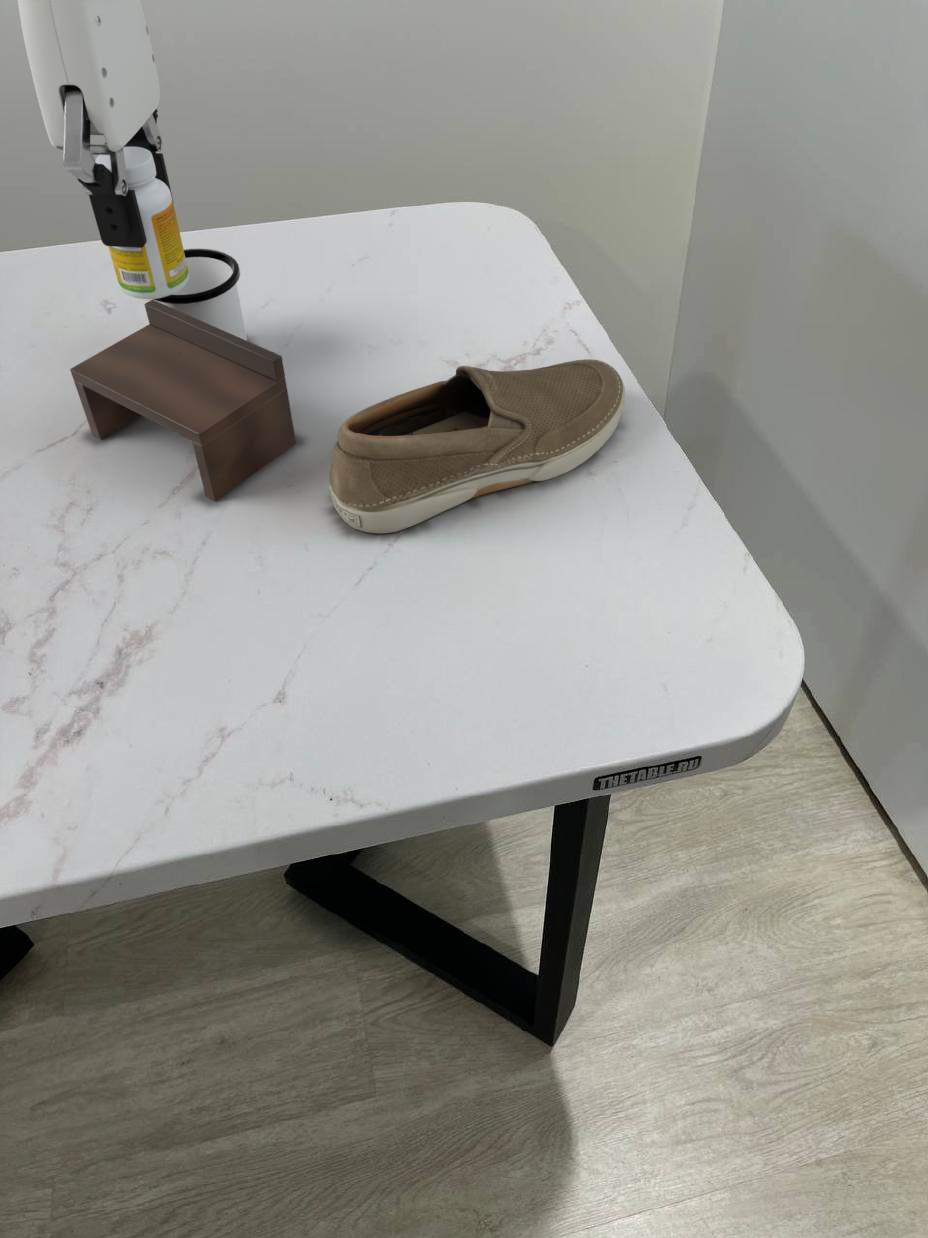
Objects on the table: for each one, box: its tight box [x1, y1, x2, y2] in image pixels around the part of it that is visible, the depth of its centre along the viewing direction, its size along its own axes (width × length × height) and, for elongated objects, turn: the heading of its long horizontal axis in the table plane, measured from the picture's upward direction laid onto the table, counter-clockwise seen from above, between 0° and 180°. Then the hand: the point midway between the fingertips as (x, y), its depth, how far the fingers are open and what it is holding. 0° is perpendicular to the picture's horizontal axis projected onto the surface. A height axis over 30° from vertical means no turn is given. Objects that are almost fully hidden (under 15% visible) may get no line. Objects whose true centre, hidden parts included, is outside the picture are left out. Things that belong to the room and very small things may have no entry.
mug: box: [147, 248, 248, 341], centre depth 99 cm, size 12×10×9 cm
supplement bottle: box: [95, 147, 189, 300], centre depth 76 cm, size 5×5×10 cm
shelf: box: [69, 300, 297, 502], centre depth 89 cm, size 10×16×9 cm, turn 54°
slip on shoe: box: [328, 358, 626, 534], centre depth 86 cm, size 30×11×9 cm, turn 121°
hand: (139, 222), depth 76 cm, fingers closed on supplement bottle, 5 cm apart
